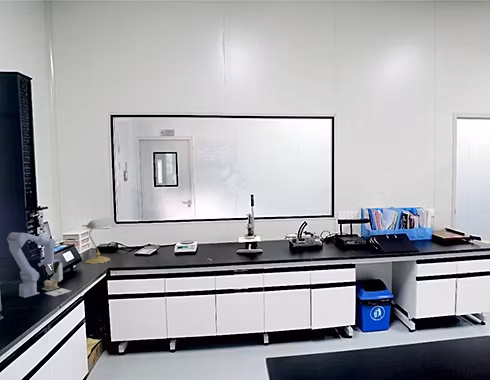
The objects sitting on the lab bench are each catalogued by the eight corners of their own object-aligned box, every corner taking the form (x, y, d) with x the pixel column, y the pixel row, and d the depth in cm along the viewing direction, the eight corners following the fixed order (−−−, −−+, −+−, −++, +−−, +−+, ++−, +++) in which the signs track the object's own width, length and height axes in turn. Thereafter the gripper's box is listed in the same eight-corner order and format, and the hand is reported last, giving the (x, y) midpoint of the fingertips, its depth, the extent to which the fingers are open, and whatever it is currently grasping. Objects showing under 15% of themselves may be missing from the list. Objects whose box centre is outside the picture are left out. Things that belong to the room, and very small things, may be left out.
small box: (62, 279, 260) (62, 262, 260) (59, 281, 254) (58, 264, 253) (51, 279, 259) (51, 263, 259) (47, 282, 253) (47, 265, 253)
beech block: (50, 289, 234) (50, 282, 234) (44, 287, 238) (44, 280, 238) (57, 287, 239) (57, 280, 238) (51, 286, 242) (51, 279, 242)
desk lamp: (94, 266, 300) (93, 221, 299) (75, 263, 308) (74, 220, 307) (119, 258, 328) (118, 217, 327) (101, 256, 337) (100, 216, 336)
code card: (54, 296, 222) (54, 296, 222) (44, 293, 228) (44, 293, 228) (71, 291, 232) (71, 291, 232) (61, 288, 238) (61, 288, 238)
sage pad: (48, 290, 233) (48, 290, 233) (41, 289, 237) (41, 288, 237) (59, 287, 240) (59, 287, 240) (53, 285, 244) (53, 285, 244)
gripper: (41, 257, 232) (42, 277, 233) (62, 253, 245) (62, 272, 245) (36, 256, 236) (36, 275, 237) (57, 252, 248) (57, 270, 249)
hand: (49, 274), depth 241 cm, fingers open, 7 cm apart
